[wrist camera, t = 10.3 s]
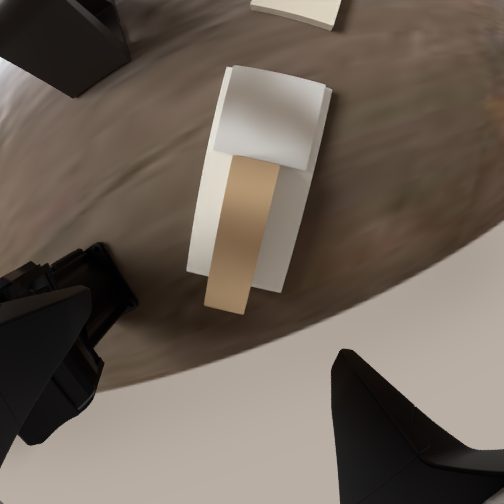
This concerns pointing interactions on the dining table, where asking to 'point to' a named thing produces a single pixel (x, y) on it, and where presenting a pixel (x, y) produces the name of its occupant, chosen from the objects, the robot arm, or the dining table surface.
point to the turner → (256, 169)
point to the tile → (301, 10)
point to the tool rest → (280, 214)
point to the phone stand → (63, 40)
